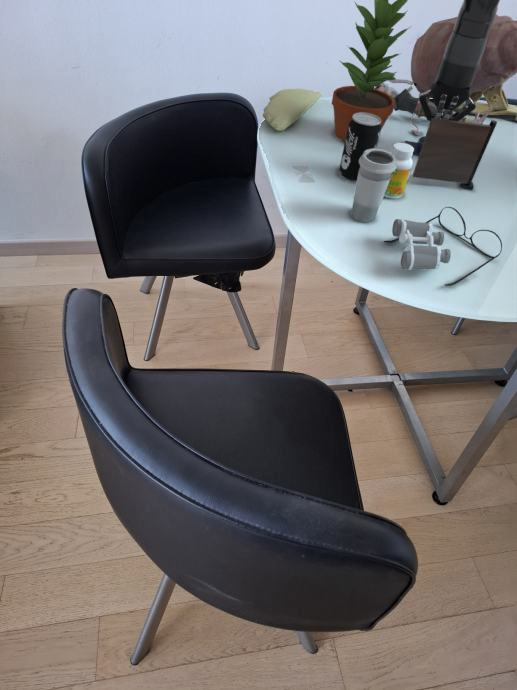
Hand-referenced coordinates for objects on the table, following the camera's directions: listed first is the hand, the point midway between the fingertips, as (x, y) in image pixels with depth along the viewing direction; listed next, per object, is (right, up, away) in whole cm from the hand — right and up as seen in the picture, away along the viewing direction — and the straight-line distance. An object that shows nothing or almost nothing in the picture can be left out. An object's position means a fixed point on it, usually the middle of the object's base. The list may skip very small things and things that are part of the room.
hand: (433, 140), depth 114 cm
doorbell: (0, -2, +2) cm, 3 cm away
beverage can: (-20, -11, -8) cm, 25 cm away
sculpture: (+13, +25, +4) cm, 28 cm away
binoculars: (-13, -32, -29) cm, 45 cm away
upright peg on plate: (+4, -14, -8) cm, 16 cm away
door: (-2, -13, -10) cm, 16 cm away
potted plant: (-17, +3, +5) cm, 18 cm away
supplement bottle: (-14, -16, -13) cm, 25 cm away
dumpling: (-29, +10, +8) cm, 32 cm away
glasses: (-9, -29, -30) cm, 43 cm away
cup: (-21, -23, -20) cm, 37 cm away
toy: (+17, +9, +11) cm, 22 cm away
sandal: (+25, +17, +23) cm, 38 cm away
